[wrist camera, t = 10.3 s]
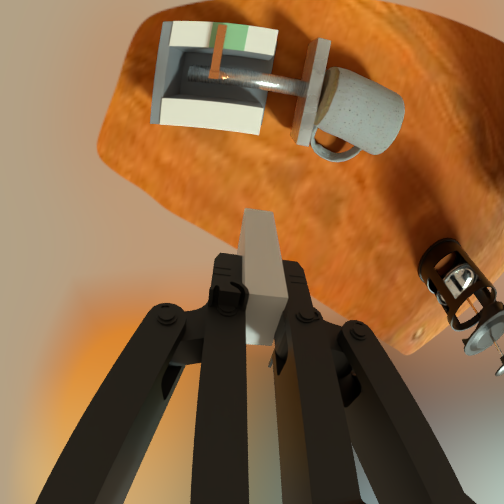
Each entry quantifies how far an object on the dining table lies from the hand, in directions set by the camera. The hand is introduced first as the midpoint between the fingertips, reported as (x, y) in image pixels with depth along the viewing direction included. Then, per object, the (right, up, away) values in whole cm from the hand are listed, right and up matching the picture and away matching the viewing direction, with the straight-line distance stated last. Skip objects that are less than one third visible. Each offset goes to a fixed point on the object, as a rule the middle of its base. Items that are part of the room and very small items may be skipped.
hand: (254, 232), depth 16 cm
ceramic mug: (+10, +15, +14) cm, 22 cm away
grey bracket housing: (-3, +18, +11) cm, 21 cm away
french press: (+32, -3, +25) cm, 41 cm away
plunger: (0, +17, +11) cm, 20 cm away
